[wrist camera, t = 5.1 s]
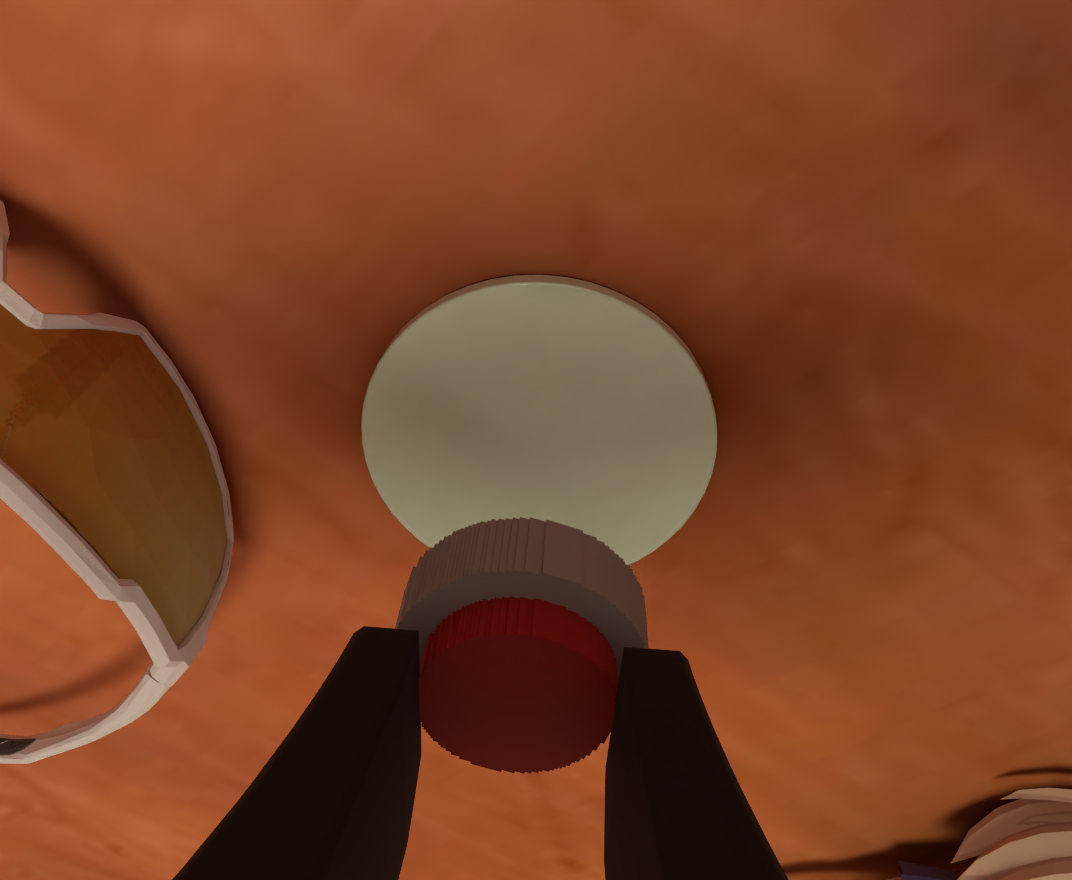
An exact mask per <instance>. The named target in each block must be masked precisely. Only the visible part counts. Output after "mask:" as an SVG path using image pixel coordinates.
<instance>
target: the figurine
mask: <svg viewBox="0 0 1072 880" xmlns="http://www.w3.org/2000/svg"><path fill="white" fill-rule="evenodd" d="M1001 799H1019V800H1016V801H1013V802H1011V803H1008V804H1006V805H1003V806H1000V807H998V808H996V809H995V810H993V811H992V812H991V813H990V814H988V815H987V816H986V817H985V818H983V819H982V820H981V821H980V822H978V823H977V824H976V825H975V826H973V827H972V828H971V829H970V830H969V831H968V833H967V835H966V837H965V838H964V840H963V842H962V844H961V846H960V848H959V849H958V851H957V853H956V855H955V857H954V859H953V860H952V862H951V863H954V862H958V861H961V860H964V859H968V858H971V857H975V856H978V855H979V856H978V857H977V859H976V860H975V861H974V862H973V863H972V864H971V865H970V866H969V867H968V868H967V869H966V870H965V871H964V872H963V873H962V872H959V871H957V872H954V871H949V870H944V869H940V868H935V867H930V866H925V865H920V864H915V863H911V862H906V861H901V860H898V864H899V868H900V873H901V877H896V878H890V879H885V880H1072V789H1059V788H1037V789H1025V790H1018V791H1016V792H1014V793H1012V794H1010V795H1008V796H1006V797H1004V798H1001ZM951 863H950V864H951Z"/></svg>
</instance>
